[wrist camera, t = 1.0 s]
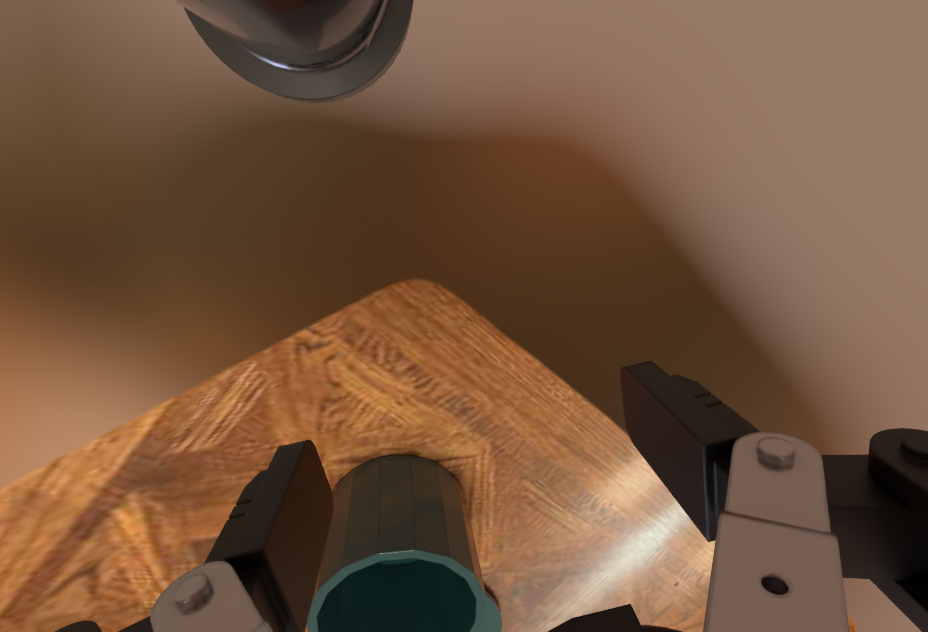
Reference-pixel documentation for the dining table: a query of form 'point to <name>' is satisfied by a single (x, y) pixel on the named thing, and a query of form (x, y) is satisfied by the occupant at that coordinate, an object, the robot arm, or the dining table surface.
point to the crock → (399, 553)
